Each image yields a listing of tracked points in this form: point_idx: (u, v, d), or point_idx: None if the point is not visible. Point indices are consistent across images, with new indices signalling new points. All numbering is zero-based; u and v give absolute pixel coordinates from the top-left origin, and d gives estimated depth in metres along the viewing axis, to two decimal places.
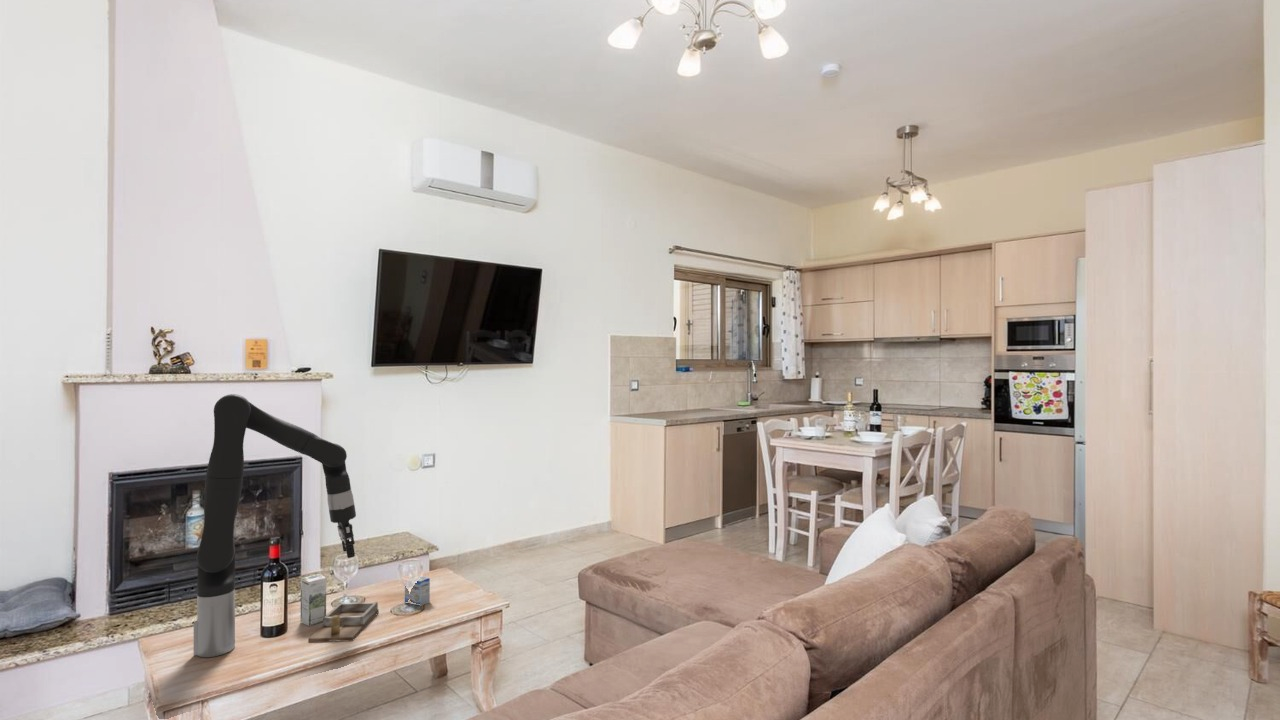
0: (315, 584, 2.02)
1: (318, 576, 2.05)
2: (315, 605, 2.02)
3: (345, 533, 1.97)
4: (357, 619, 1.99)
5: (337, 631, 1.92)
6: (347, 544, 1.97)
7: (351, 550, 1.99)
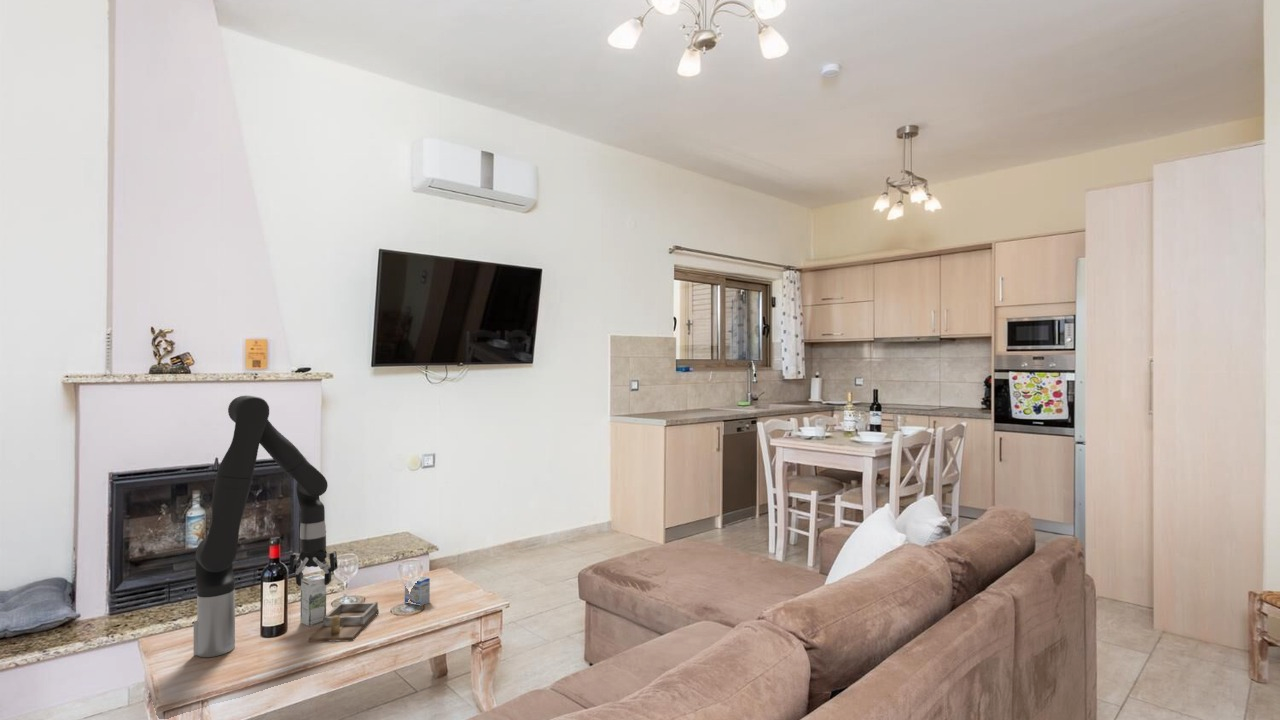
0: (315, 584, 2.02)
1: (318, 576, 2.05)
2: (315, 605, 2.02)
3: (333, 558, 2.04)
4: (357, 619, 1.99)
5: (337, 631, 1.92)
6: (334, 569, 2.04)
7: (330, 576, 2.05)
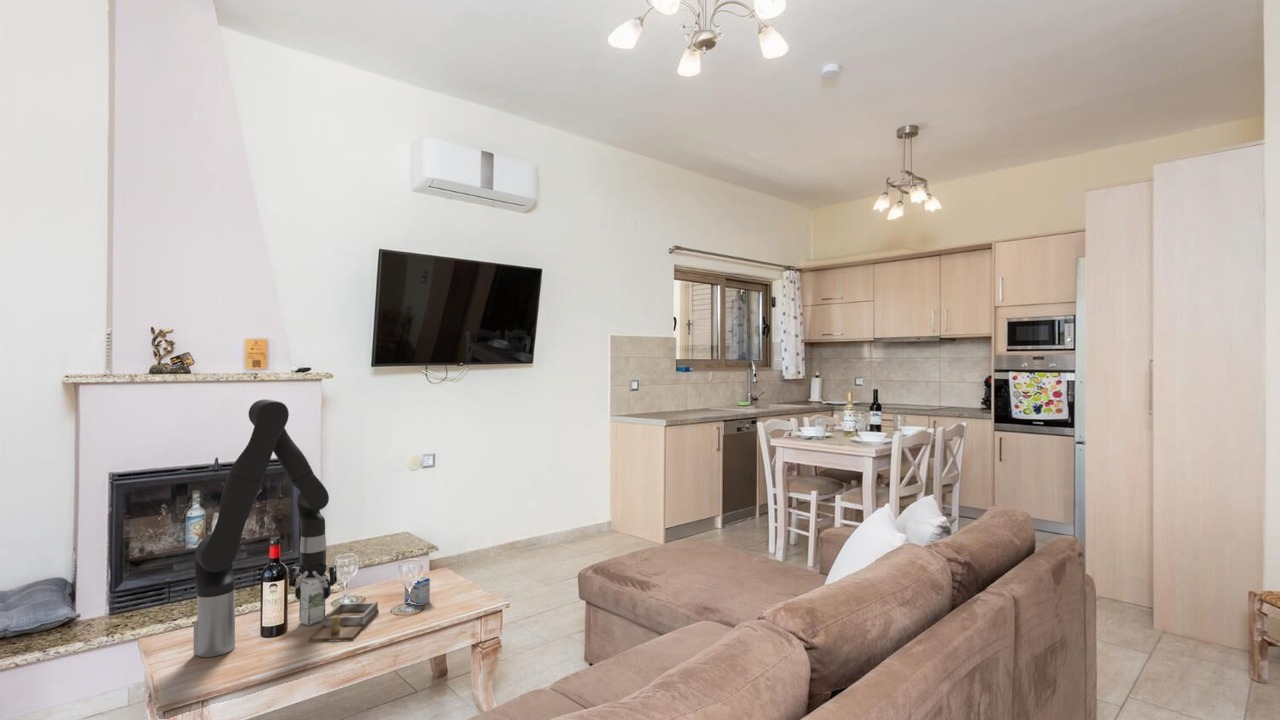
0: (314, 583, 2.02)
1: None
2: (315, 604, 2.02)
3: (333, 572, 2.04)
4: (357, 619, 1.99)
5: (337, 631, 1.92)
6: (334, 583, 2.04)
7: (329, 590, 2.05)
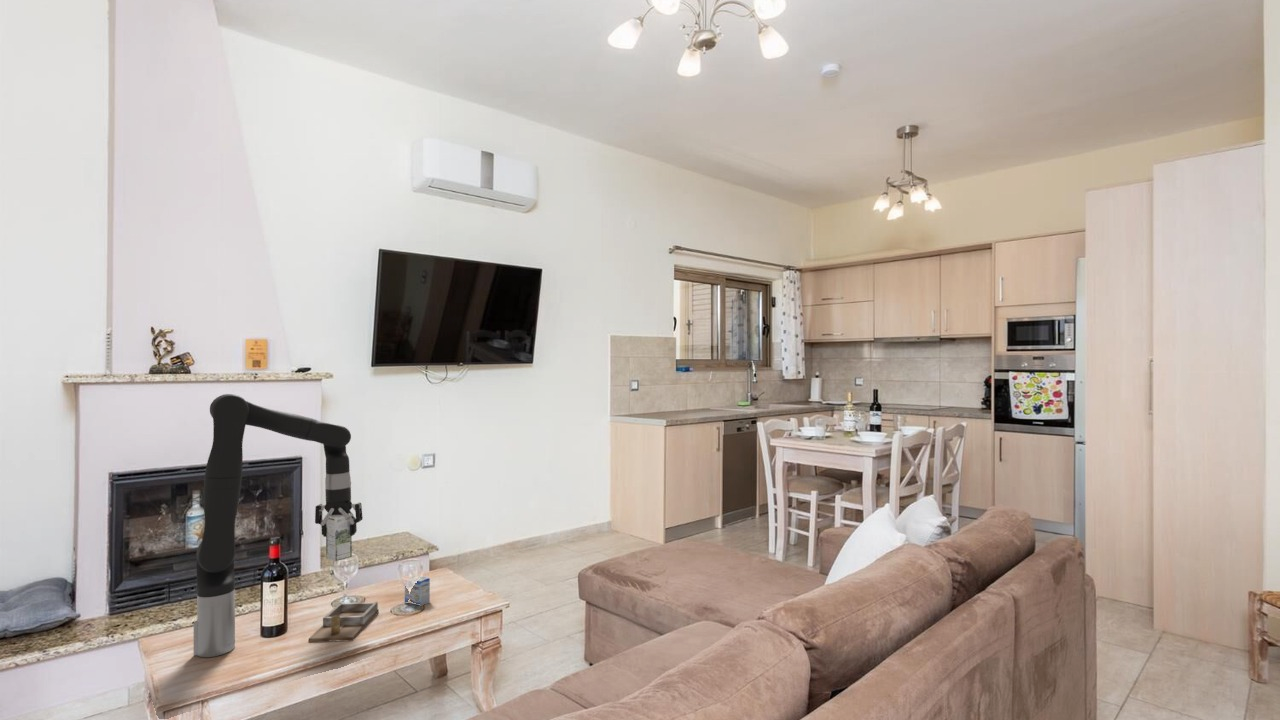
0: (340, 519, 2.03)
1: None
2: (341, 541, 2.03)
3: (359, 509, 2.05)
4: (357, 619, 1.99)
5: (337, 631, 1.92)
6: (360, 520, 2.05)
7: (355, 527, 2.06)
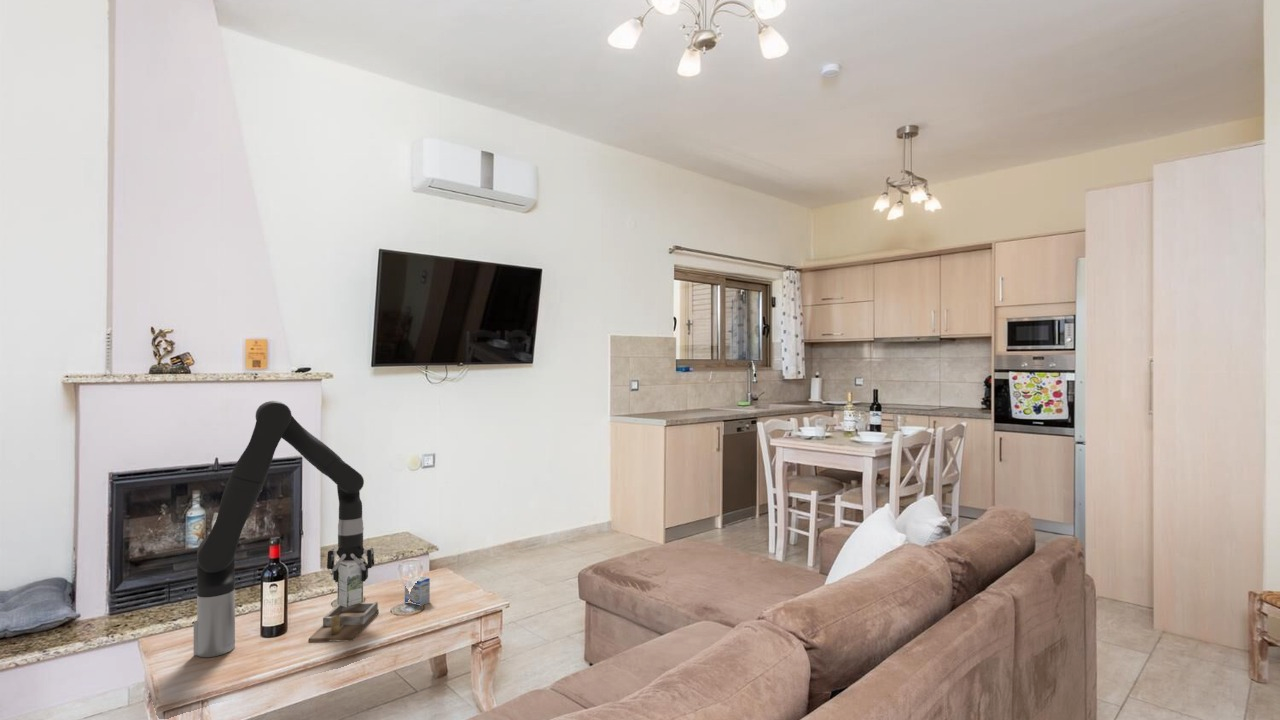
0: (352, 565, 2.03)
1: None
2: (353, 587, 2.03)
3: (371, 555, 2.05)
4: (357, 619, 1.99)
5: (337, 631, 1.92)
6: (371, 565, 2.05)
7: (367, 573, 2.06)
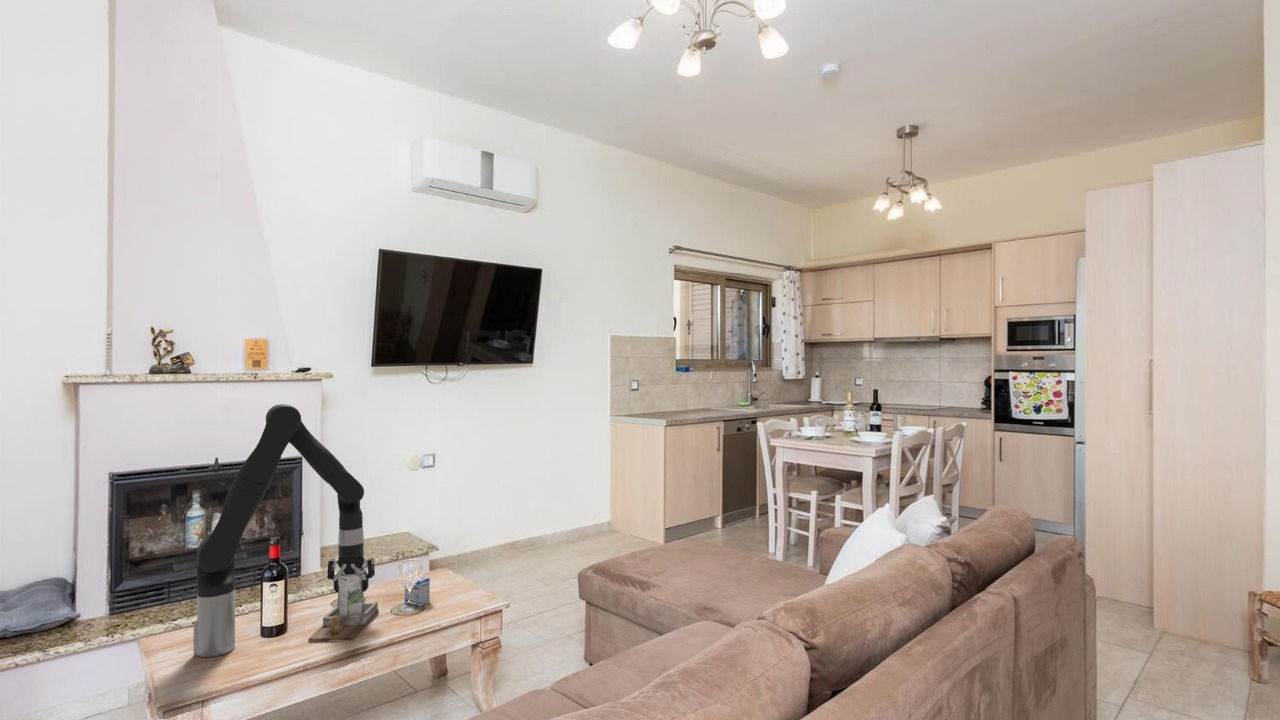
0: (353, 579, 2.03)
1: None
2: (353, 601, 2.03)
3: (371, 565, 2.05)
4: (357, 619, 1.99)
5: (337, 631, 1.92)
6: (372, 575, 2.05)
7: (367, 583, 2.06)
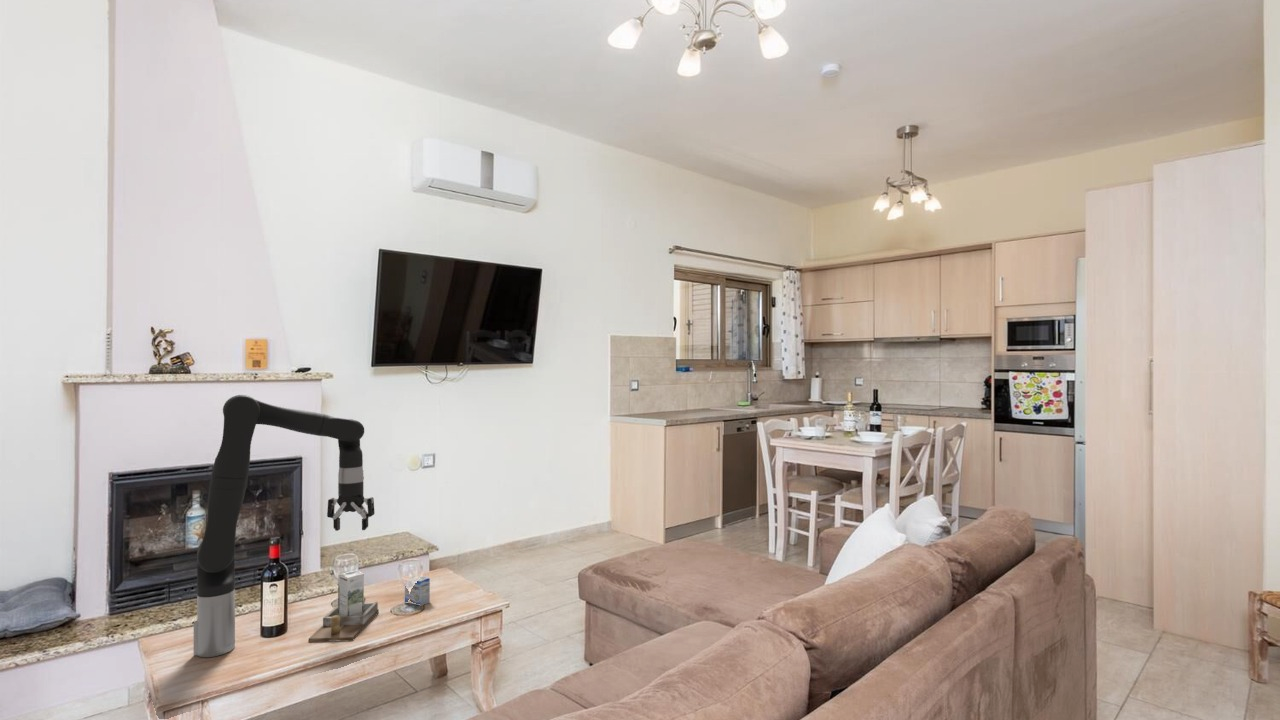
0: (353, 579, 2.03)
1: (355, 572, 2.06)
2: (353, 601, 2.03)
3: (371, 503, 2.05)
4: (357, 619, 1.99)
5: (337, 631, 1.92)
6: (372, 514, 2.05)
7: (367, 522, 2.06)
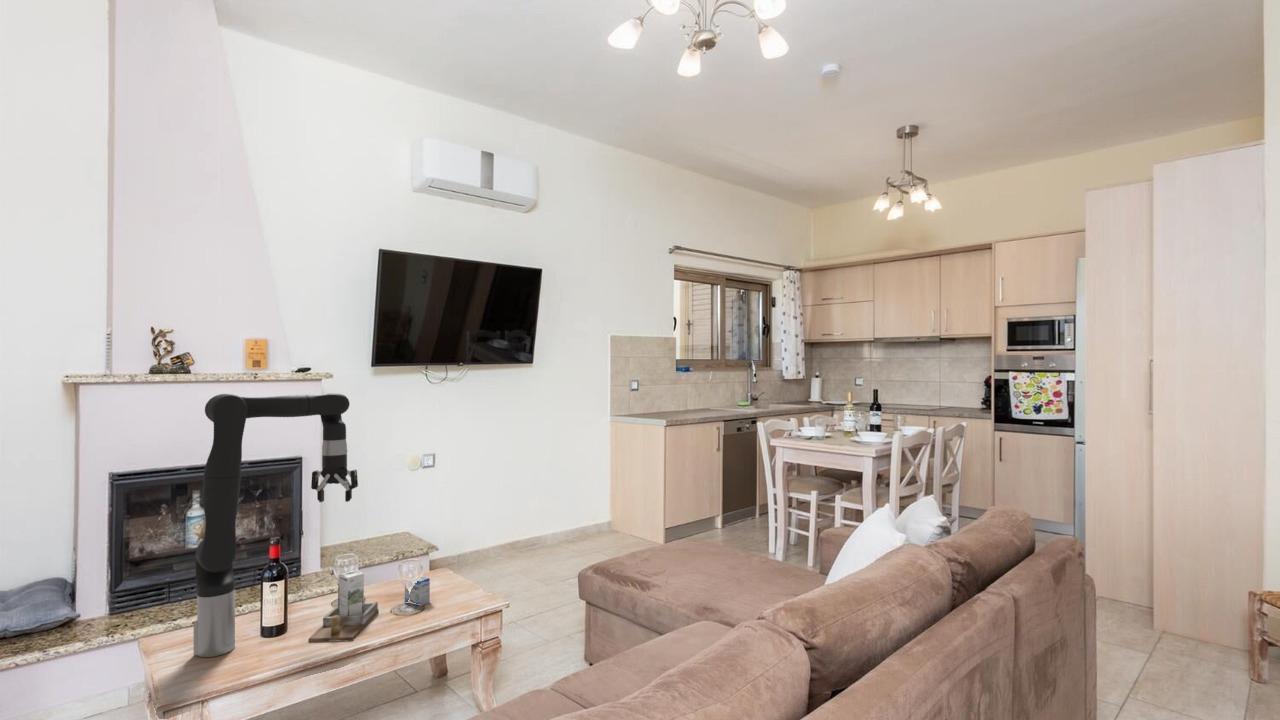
0: (353, 579, 2.03)
1: (355, 572, 2.06)
2: (353, 601, 2.03)
3: (354, 475, 2.09)
4: (357, 619, 1.99)
5: (337, 631, 1.92)
6: (355, 486, 2.09)
7: (351, 494, 2.10)
